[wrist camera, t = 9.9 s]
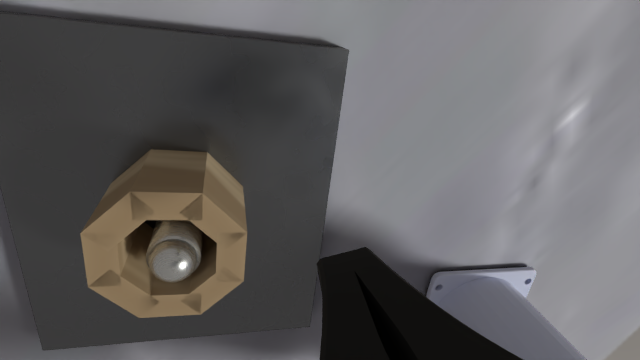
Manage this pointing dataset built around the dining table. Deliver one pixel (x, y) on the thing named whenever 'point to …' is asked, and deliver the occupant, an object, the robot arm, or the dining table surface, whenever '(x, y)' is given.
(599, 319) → the dining table surface
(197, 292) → the ring
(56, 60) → the hub
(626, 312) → the dining table surface
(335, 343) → the robot arm
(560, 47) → the dining table surface
